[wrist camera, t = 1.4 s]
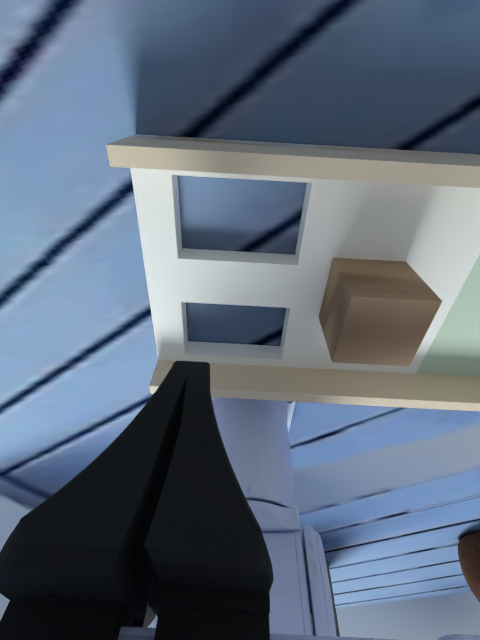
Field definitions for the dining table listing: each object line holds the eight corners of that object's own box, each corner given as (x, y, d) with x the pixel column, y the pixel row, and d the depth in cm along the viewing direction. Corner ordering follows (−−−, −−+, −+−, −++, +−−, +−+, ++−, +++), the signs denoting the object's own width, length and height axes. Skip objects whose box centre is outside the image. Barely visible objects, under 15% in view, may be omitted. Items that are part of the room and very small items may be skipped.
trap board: (516, 373, 25) (556, 415, 22) (163, 354, 25) (150, 393, 21) (682, 166, 16) (792, 184, 13) (135, 134, 16) (106, 144, 13)
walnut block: (382, 320, 20) (409, 366, 17) (318, 317, 20) (332, 362, 17) (406, 261, 18) (442, 301, 14) (332, 257, 18) (352, 296, 14)
